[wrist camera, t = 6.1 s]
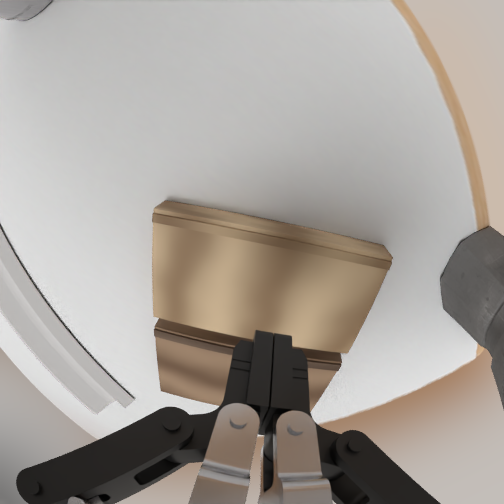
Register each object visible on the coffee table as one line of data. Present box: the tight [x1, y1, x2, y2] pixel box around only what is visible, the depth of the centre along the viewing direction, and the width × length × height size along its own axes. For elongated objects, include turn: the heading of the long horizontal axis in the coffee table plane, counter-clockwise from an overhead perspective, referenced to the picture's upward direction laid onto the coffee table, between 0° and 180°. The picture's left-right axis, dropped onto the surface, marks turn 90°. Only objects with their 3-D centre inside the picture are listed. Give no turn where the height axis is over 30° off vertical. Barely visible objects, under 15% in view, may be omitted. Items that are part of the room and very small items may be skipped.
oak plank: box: [152, 200, 393, 353], centre depth 20 cm, size 16×9×2 cm, turn 80°
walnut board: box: [154, 318, 342, 412], centre depth 25 cm, size 10×16×2 cm, turn 80°
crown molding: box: [0, 228, 134, 414], centre depth 27 cm, size 31×12×4 cm, turn 27°
